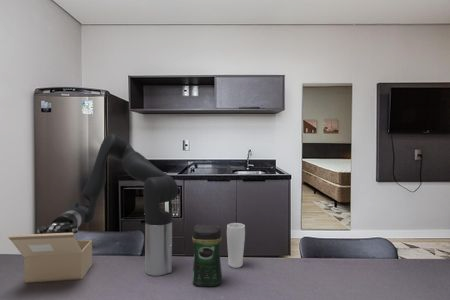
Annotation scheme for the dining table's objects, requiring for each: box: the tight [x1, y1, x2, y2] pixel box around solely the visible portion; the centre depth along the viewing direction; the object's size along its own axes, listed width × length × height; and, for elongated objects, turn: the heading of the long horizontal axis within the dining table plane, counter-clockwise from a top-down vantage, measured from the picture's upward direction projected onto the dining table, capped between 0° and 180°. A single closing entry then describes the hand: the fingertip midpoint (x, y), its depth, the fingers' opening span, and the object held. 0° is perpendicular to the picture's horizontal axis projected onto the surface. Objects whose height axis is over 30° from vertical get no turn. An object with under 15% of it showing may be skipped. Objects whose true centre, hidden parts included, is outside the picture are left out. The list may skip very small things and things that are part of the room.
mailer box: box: [23, 239, 93, 284], centre depth 98 cm, size 17×12×9 cm
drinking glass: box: [226, 222, 246, 269], centre depth 106 cm, size 7×7×15 cm
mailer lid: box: [8, 233, 82, 258], centre depth 87 cm, size 17×12×1 cm
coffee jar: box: [191, 224, 223, 287], centre depth 93 cm, size 10×8×19 cm
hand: (46, 237), depth 86 cm, fingers closed
